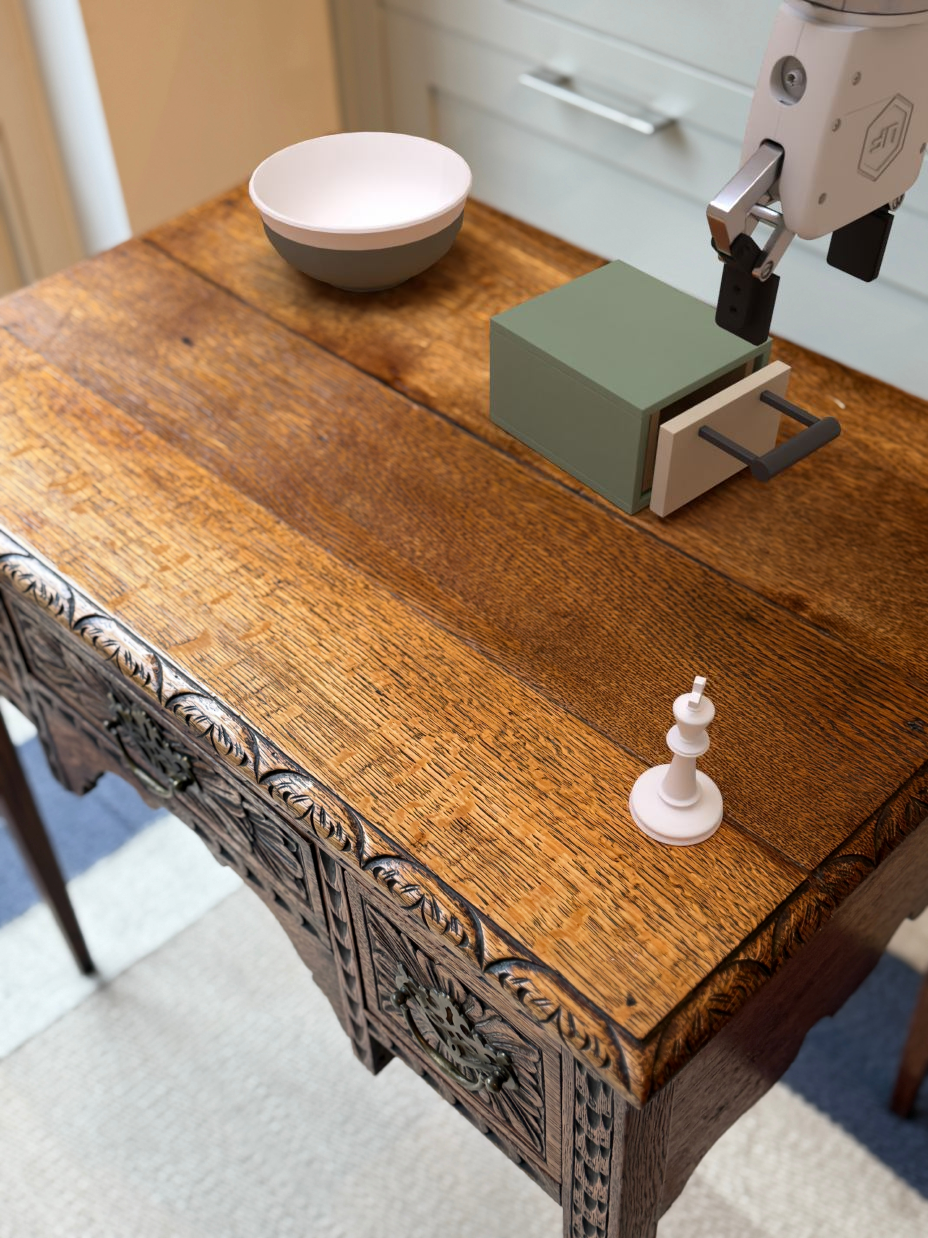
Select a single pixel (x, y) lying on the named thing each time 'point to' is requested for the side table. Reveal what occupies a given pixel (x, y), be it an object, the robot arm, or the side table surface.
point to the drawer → (726, 435)
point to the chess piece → (680, 780)
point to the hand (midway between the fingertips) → (797, 301)
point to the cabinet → (605, 371)
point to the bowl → (362, 206)
